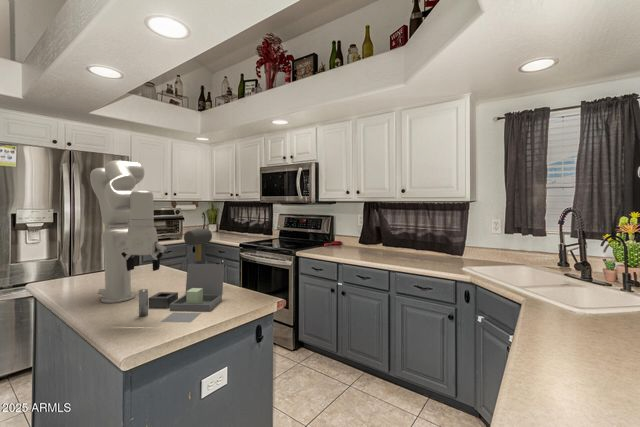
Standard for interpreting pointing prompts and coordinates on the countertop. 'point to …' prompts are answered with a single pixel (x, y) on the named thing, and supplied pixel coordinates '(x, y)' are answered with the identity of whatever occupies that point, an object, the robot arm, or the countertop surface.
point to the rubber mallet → (197, 240)
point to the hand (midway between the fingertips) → (143, 270)
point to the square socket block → (162, 299)
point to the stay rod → (143, 302)
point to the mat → (181, 317)
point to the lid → (206, 278)
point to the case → (207, 305)
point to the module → (194, 296)
